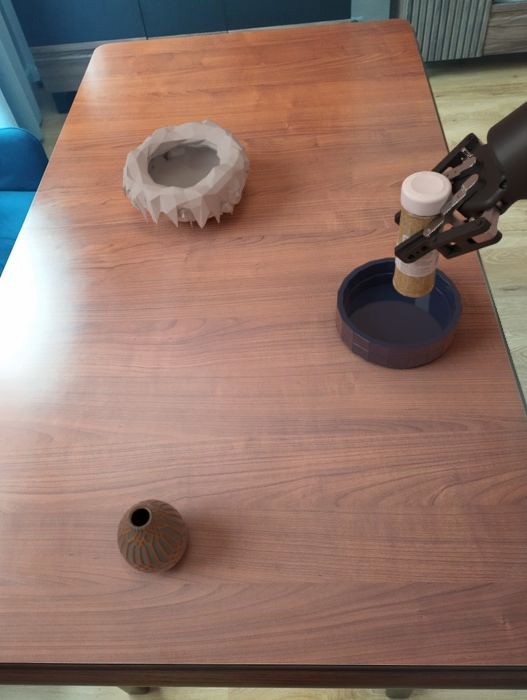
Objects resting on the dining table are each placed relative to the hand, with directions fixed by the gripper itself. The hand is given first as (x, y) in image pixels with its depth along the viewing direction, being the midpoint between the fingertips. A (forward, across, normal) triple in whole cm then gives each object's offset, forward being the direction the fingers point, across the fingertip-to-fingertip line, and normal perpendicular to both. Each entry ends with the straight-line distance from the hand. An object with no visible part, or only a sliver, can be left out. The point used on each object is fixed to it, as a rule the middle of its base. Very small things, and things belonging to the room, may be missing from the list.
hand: (400, 239), depth 60 cm
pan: (+13, -5, +14) cm, 20 cm away
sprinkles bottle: (+3, 0, +6) cm, 7 cm away
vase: (+30, +28, -3) cm, 41 cm away
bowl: (+36, -29, -9) cm, 47 cm away
